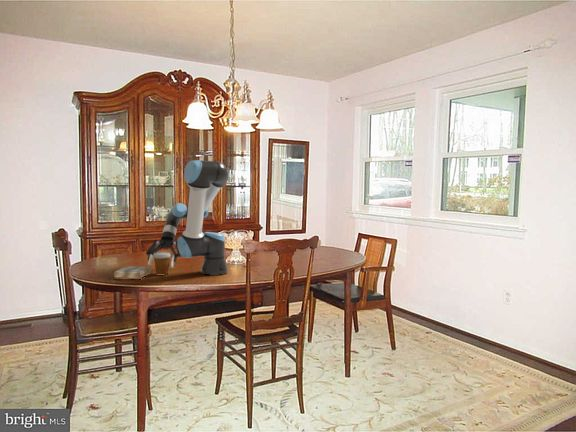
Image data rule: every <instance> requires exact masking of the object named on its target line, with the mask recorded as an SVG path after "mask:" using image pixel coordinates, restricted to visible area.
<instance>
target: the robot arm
mask: <svg viewBox="0 0 576 432" xmlns="http://www.w3.org/2000/svg"><path fill="white" fill-rule="evenodd" d="M183 175H184V181H185V183H187V187H189V197H188V205H185V204H184V203H181V202H179V203H175V205H174V206H173V207H172V209H171V211H168V213H167V216H166V220H165V222H164V223H165V224H164V226H163V230H162V233H161V236H160V240H157V239H155V240H154V241H153V243H152V244H151V246H150V247H149V248H148V249H147V250H146V252H145V254H146V255H147V261H148V262H147V267H150V268H151V266H152V261H153V260H154V257H153V255H154V253H156V252H160V250H162V249H163V250H164V249H166V250H167V249H169V250H170V251H171V253H172V257H171V261H170V268H172V269H173V268H174V265H175V263H176V262H177V259H178V257H179V258H181V257H182V258H186V259H191V258H197V257H203V262H202V265H201V267H200V274H202V273H204V274H210V275H209V276H219V275H218V274H223V275H226V274H228V273H229V272H228V271H229V270H228V269H229V268H228V265H227V263H226V258H225V255H226V252H225V251H226V244H225V243H226V240H225V239H226V238H225V235H224V233H220V232H212V231H205V232H203V225H204V223H203V222H204V218H205V219H206V218H207V217H208V216H209V210H210V209H209V207H210V205H211V204H212V202H213V201H214V199H215V198H216V197H217V195H218V193H219V192H220V190H221V189H222V188H224V187H225V185H227V183H228V181H229V171H228V168H227V167H226V165H225V164H223V162H220V161H217V160H200V159H197V160H190V161H188V163H187V164H186V165H185V168H184V173H183ZM182 220H186V223H185V229H184V230H183V231H182V234H181V235H182V236H179V237H178V238H177V240H176V241H175V238H176V234H177V231H178V227H179V224H180V223H181V221H182ZM173 246H175V248H176V251H175V249H174V247H173ZM227 272H228V273H227ZM225 273H226V274H225ZM204 274H203V275H204Z"/></svg>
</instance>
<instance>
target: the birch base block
mask: <svg viewBox="0 0 576 432" xmlns="http://www.w3.org/2000/svg"><path fill="white" fill-rule="evenodd" d="M148 273H150V274H151V266H150V267H149V266H126V265H125V266H123V267H121V268H120V269H117V270H115V271H113V277H125V278H141V277H143V276H145V275H146V274H148Z"/></svg>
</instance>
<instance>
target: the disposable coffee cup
mask: <svg viewBox="0 0 576 432" xmlns="http://www.w3.org/2000/svg"><path fill="white" fill-rule="evenodd" d="M171 256H172V254H171V252H169V251H158V252H156V253H154V255H153V261H154V266H155V272H156V273H157V274H167V273H168V274H169V269H170V262H171V261H170V259H171Z"/></svg>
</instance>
